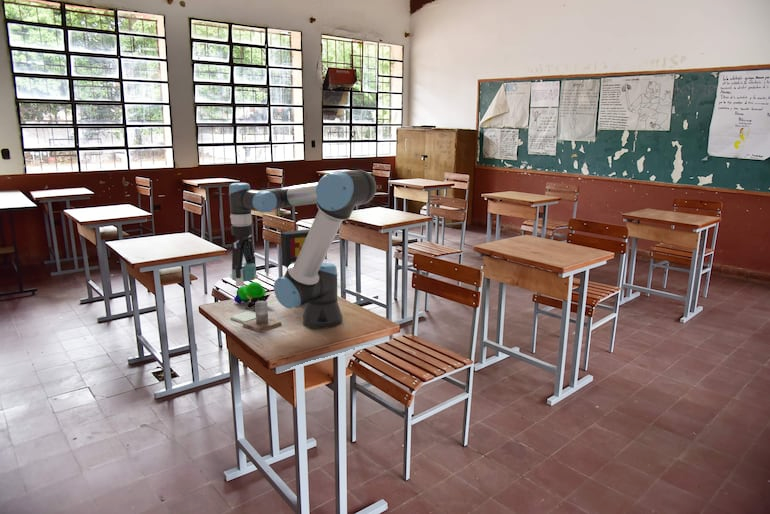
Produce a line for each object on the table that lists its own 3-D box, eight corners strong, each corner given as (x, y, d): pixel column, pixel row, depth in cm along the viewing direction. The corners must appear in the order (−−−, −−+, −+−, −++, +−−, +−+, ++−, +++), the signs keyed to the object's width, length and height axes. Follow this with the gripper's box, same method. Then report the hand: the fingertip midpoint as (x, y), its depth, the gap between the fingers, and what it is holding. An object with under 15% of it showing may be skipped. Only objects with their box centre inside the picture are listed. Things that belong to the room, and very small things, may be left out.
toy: (239, 316, 225) (252, 297, 216) (228, 294, 229) (240, 275, 219) (259, 310, 232) (272, 292, 222) (248, 290, 235) (260, 271, 226)
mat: (263, 317, 211) (263, 315, 211) (244, 323, 204) (244, 321, 204) (249, 312, 217) (249, 310, 216) (230, 318, 210) (230, 316, 209)
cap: (253, 282, 202) (252, 268, 201) (226, 280, 203) (225, 267, 202) (261, 276, 210) (261, 263, 209) (235, 274, 212) (235, 262, 210)
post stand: (281, 324, 203) (280, 302, 201) (260, 332, 196) (258, 308, 194) (264, 319, 209) (263, 297, 207) (243, 326, 202) (241, 303, 200)
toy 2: (288, 304, 228) (285, 234, 221) (283, 300, 233) (280, 232, 226) (319, 299, 234) (317, 231, 227) (313, 295, 239) (311, 229, 232)
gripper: (243, 219, 213) (246, 275, 218) (219, 229, 192) (223, 290, 198) (261, 220, 212) (264, 275, 217) (239, 230, 191) (242, 291, 196)
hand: (244, 282), depth 207 cm, fingers closed on cap, 8 cm apart
